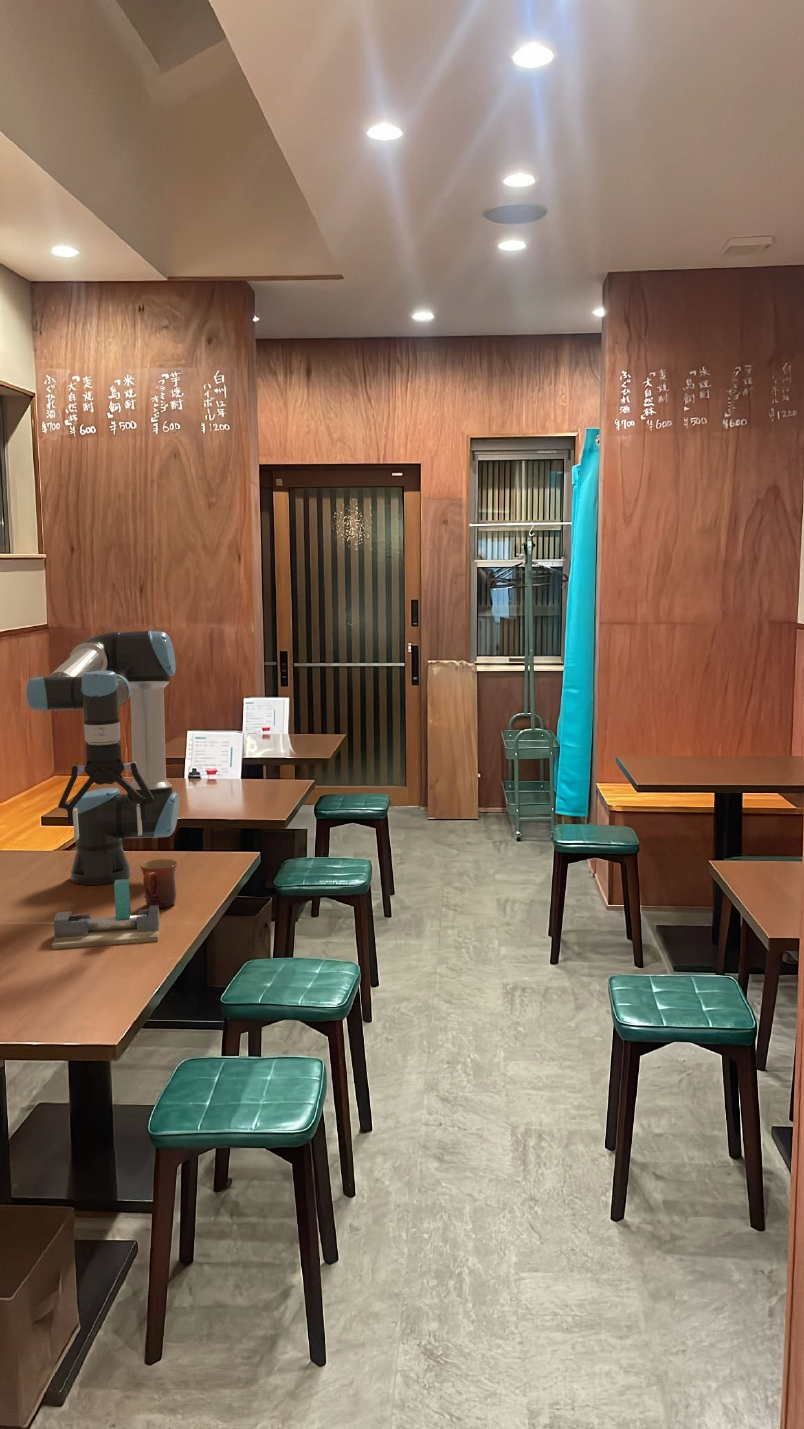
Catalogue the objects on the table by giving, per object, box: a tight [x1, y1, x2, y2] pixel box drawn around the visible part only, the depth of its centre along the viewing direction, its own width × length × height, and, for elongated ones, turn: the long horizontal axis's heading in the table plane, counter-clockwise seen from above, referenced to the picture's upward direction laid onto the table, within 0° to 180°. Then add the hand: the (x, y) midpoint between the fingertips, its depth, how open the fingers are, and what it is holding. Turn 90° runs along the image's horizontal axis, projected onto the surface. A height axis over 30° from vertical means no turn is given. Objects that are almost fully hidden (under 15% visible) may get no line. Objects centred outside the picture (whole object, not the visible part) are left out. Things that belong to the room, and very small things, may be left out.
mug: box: [140, 858, 179, 910], centre depth 256 cm, size 12×9×10 cm
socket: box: [137, 905, 161, 932], centre depth 238 cm, size 6×4×4 cm
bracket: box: [53, 911, 91, 939], centre depth 235 cm, size 6×7×4 cm
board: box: [51, 916, 161, 950], centre depth 237 cm, size 14×22×1 cm, turn 100°
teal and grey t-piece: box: [79, 878, 148, 932], centre depth 236 cm, size 3×15×11 cm, turn 100°
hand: (108, 836), depth 237 cm, fingers open, 13 cm apart
